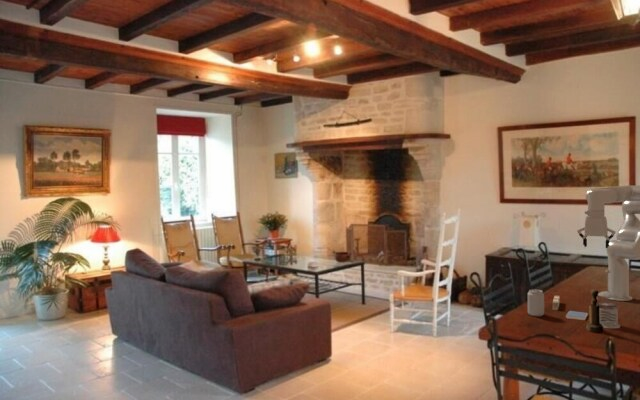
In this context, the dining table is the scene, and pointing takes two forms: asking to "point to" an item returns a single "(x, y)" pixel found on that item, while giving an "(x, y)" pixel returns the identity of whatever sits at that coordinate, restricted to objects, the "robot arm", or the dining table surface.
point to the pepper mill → (594, 314)
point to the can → (535, 303)
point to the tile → (576, 315)
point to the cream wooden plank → (556, 302)
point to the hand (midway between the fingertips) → (596, 247)
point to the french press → (608, 310)
